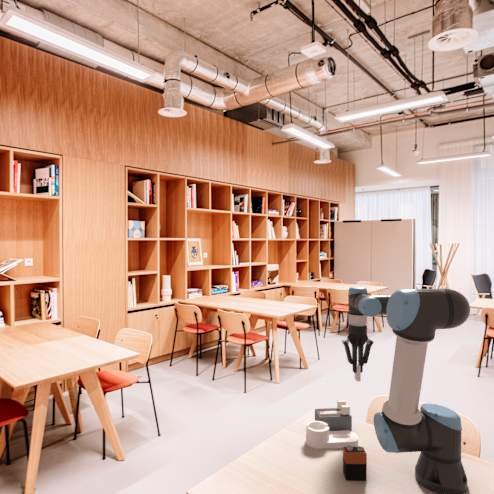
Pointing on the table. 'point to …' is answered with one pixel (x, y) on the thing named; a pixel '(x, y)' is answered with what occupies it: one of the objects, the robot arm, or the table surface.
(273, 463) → the table surface
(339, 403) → the rear tab
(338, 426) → the switch box
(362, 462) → the battery
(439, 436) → the robot arm
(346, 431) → the bracket
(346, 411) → the front tab
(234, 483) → the table surface
